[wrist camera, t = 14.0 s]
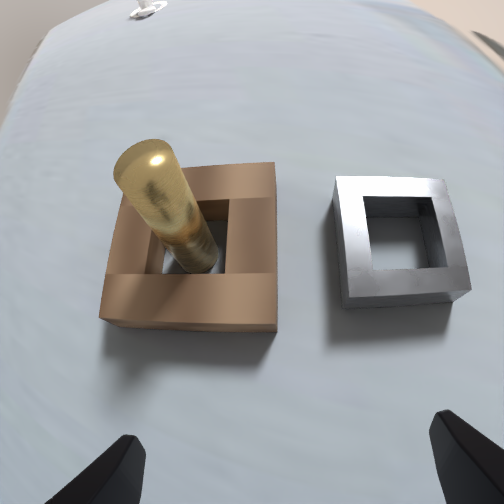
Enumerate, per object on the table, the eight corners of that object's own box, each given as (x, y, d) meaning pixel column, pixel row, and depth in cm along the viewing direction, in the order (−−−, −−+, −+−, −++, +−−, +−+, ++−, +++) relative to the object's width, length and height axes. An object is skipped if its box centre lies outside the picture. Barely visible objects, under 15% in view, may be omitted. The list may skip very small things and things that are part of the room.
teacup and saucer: (153, 18, 47) (148, 1, 43) (121, 23, 48) (115, 8, 45) (174, 1, 50) (169, -15, 46) (143, 5, 51) (138, -9, 48)
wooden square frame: (118, 326, 23) (98, 317, 20) (141, 193, 28) (128, 174, 25) (277, 332, 22) (275, 323, 19) (276, 184, 26) (274, 161, 24)
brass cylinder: (176, 273, 24) (106, 193, 14) (180, 235, 25) (122, 143, 15) (217, 273, 24) (166, 186, 14) (219, 234, 25) (178, 135, 15)
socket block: (341, 309, 22) (349, 297, 19) (332, 198, 25) (336, 176, 23) (453, 301, 21) (471, 289, 18) (431, 199, 24) (443, 179, 22)
